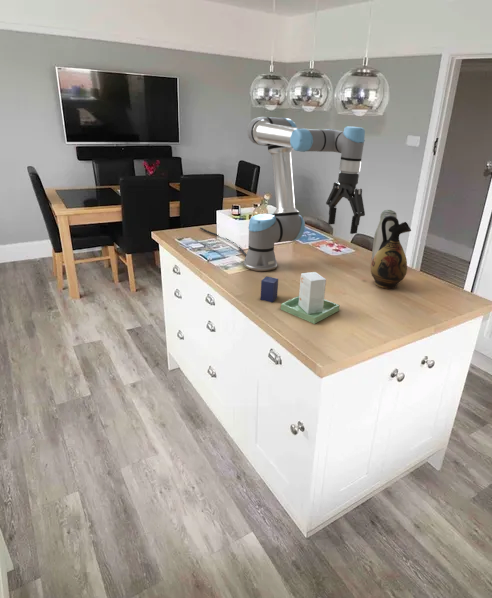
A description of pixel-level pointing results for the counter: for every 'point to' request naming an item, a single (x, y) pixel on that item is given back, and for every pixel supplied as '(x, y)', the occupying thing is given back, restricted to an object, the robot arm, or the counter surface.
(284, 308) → the tray
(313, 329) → the counter surface
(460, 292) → the counter surface
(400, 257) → the ceramic jug
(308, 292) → the small box
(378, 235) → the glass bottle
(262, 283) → the navy block
